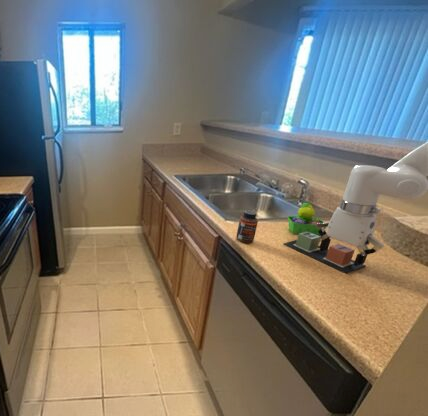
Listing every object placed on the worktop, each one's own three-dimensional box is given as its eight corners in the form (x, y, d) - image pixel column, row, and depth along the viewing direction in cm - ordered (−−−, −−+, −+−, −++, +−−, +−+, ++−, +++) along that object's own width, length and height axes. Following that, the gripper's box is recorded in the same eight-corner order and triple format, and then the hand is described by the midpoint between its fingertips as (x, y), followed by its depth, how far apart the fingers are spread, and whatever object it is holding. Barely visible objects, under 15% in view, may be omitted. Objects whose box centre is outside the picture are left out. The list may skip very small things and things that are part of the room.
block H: (317, 248, 96) (321, 236, 94) (308, 250, 94) (312, 238, 93) (303, 242, 100) (307, 231, 98) (295, 245, 98) (298, 233, 97)
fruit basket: (289, 234, 107) (297, 207, 103) (283, 225, 115) (290, 200, 111) (324, 238, 104) (333, 211, 100) (315, 229, 111) (323, 203, 107)
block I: (350, 262, 87) (355, 249, 86) (341, 265, 86) (346, 252, 84) (334, 255, 91) (338, 243, 90) (325, 258, 90) (329, 245, 88)
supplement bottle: (240, 243, 100) (246, 215, 96) (233, 236, 106) (238, 209, 102) (256, 243, 101) (262, 215, 96) (248, 236, 106) (253, 209, 102)
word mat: (365, 266, 86) (366, 265, 86) (345, 273, 82) (346, 272, 82) (301, 239, 103) (301, 238, 103) (283, 244, 100) (283, 243, 100)
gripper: (402, 215, 76) (380, 268, 82) (332, 197, 91) (318, 243, 97) (386, 219, 73) (365, 274, 79) (318, 200, 88) (304, 247, 94)
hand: (339, 257), depth 88 cm, fingers open, 9 cm apart
